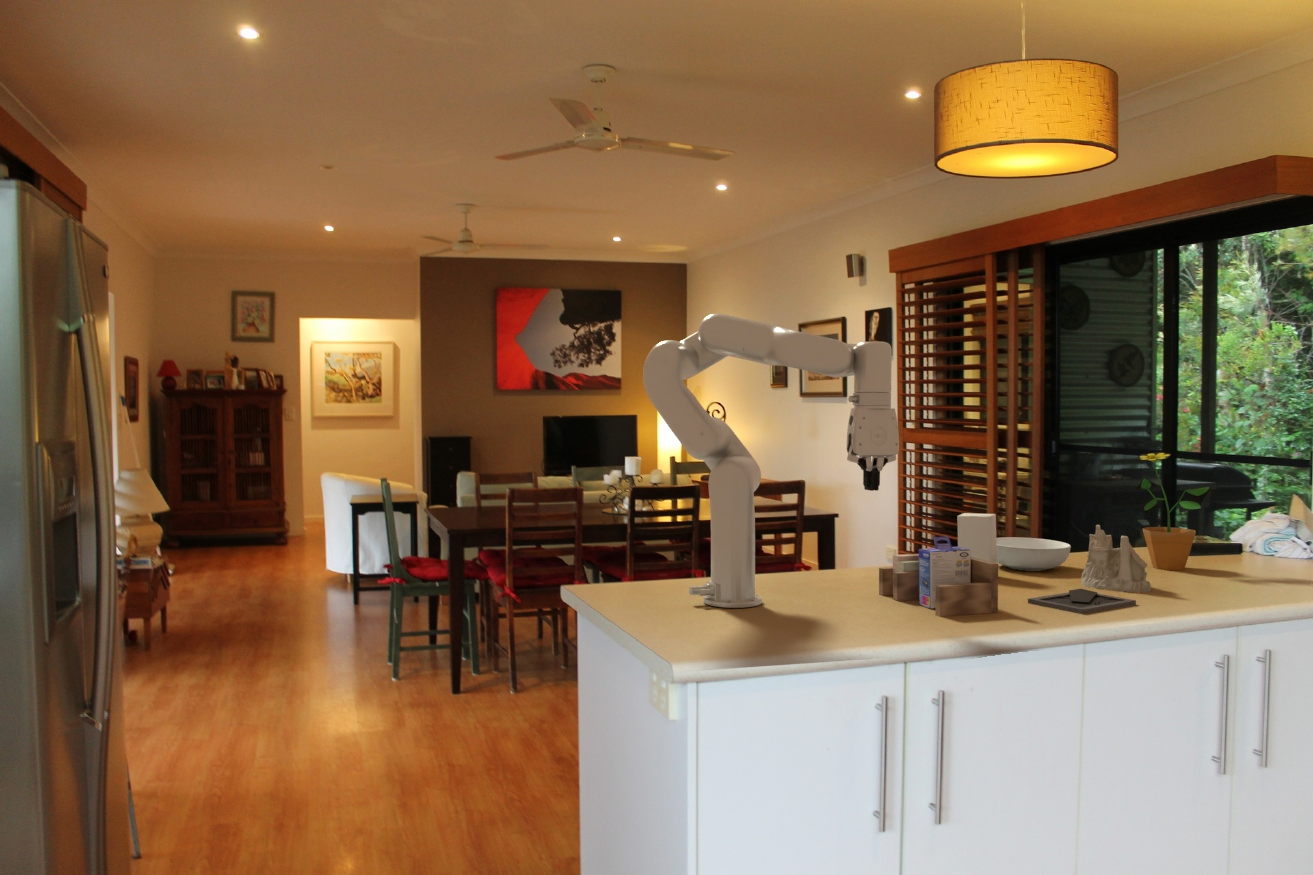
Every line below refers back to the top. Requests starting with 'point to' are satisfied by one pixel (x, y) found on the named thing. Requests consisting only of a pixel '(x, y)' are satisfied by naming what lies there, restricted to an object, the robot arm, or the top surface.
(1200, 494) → the potted plant
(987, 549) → the skincare box
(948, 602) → the book rack
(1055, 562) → the serving bowl
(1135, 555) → the ceramic cottage
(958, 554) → the ink cartridge box
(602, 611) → the top surface
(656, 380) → the robot arm
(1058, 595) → the picture frame
